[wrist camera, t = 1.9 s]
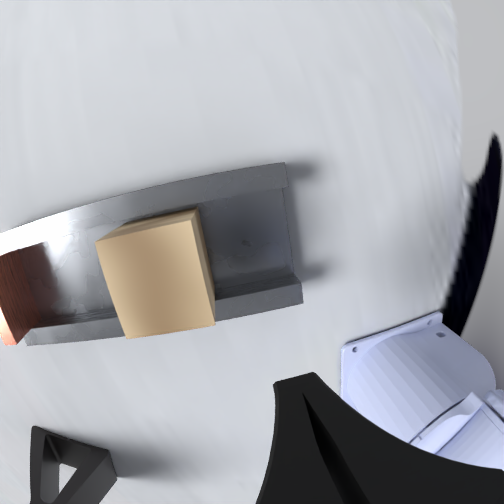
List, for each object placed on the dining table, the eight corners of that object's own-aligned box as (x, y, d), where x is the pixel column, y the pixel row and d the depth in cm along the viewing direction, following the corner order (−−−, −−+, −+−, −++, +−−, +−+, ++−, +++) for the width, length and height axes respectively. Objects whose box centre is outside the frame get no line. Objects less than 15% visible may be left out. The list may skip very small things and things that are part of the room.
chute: (274, 163, 16) (296, 160, 12) (291, 286, 18) (315, 320, 14) (9, 230, 14) (-32, 246, 10) (42, 328, 17) (13, 361, 12)
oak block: (197, 206, 15) (190, 220, 11) (214, 285, 16) (215, 325, 12) (126, 222, 15) (94, 241, 10) (146, 297, 16) (126, 339, 11)
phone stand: (47, 455, 20) (20, 530, 9) (32, 424, 19) (-6, 507, 8) (117, 477, 22) (103, 563, 10) (110, 450, 21) (88, 550, 9)
